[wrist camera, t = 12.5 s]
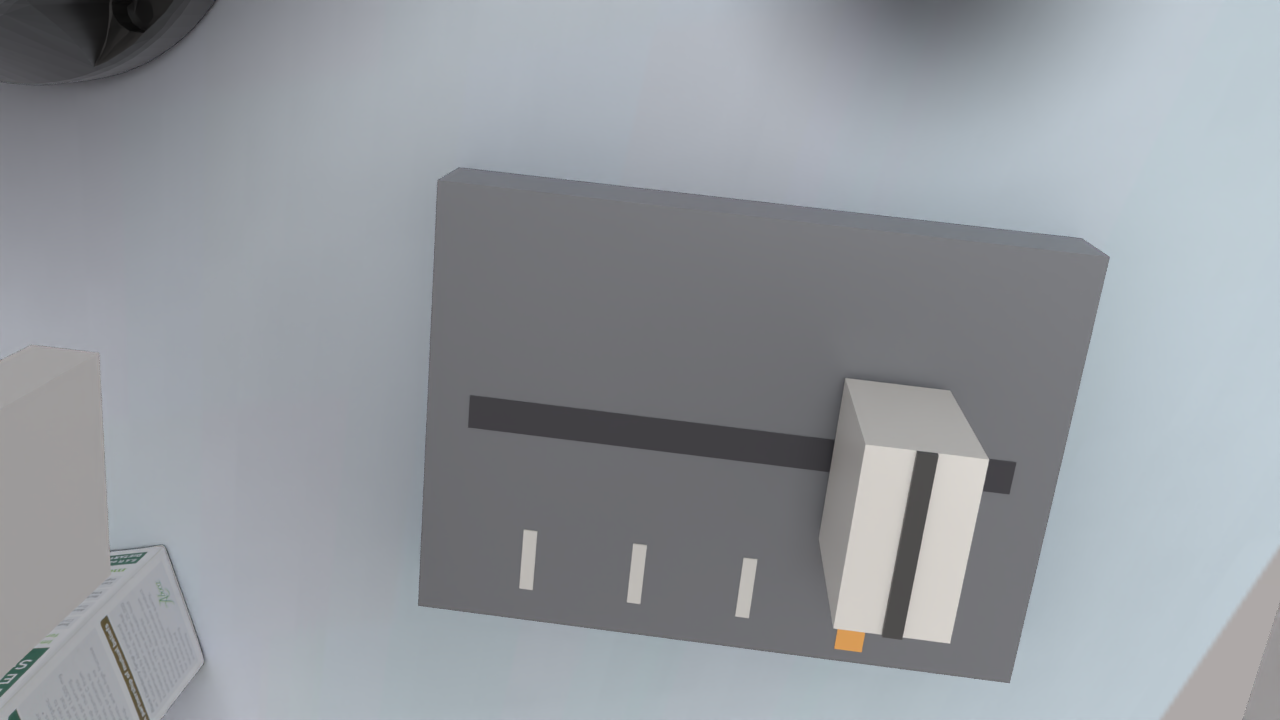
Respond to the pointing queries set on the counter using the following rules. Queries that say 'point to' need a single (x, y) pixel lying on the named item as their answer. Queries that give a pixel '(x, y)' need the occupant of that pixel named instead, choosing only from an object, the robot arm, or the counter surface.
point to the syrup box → (111, 650)
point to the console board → (724, 406)
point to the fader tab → (900, 510)
